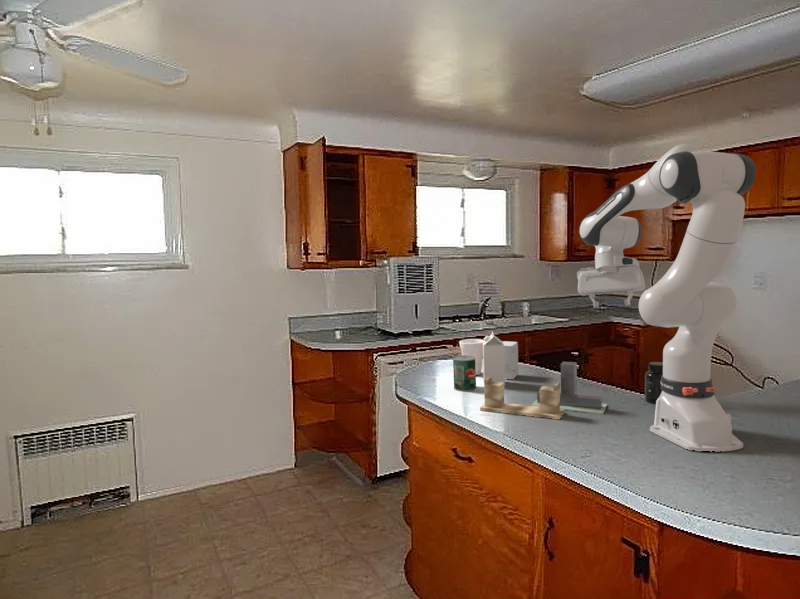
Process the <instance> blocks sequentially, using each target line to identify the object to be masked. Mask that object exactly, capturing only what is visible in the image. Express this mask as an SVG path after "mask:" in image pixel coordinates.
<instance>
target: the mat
mask: <svg viewBox="0 0 800 599" xmlns="http://www.w3.org/2000/svg"><path fill="white" fill-rule="evenodd" d="M530 406H538V407H540V403H537V399H536V400H534V401H533V403H532V404H530ZM607 407H608V404H607V403H602V408H601V409H592V408H583V407H573V406H563V405H560V409H565V411H566V410H568V411H567V412H575V411H577V413H584V412H585V414H595V415H603V414H604V413H605V411H606V408H607Z"/></svg>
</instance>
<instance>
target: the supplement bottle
mask: <svg viewBox="0 0 800 599" xmlns="http://www.w3.org/2000/svg"><path fill="white" fill-rule="evenodd" d="M662 375H663V361H662V362H661V361H652V362H649V363H648V371H646V372H645V374H644V399H645V402H646V403H649V404H652V405H656V401H657V399H658V398H659V397H660V395H661V393H662V390H661V383H660V381H661V376H662Z"/></svg>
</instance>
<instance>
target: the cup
mask: <svg viewBox="0 0 800 599" xmlns="http://www.w3.org/2000/svg"><path fill="white" fill-rule="evenodd" d="M483 341H484V339H481V338H466V339H461V340H459V341H458V344H459V347H460V350H461V356H463V355H467V356H474V357H475V367H476V376H479V375H481V374H482V368H483Z"/></svg>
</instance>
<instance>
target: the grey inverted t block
mask: <svg viewBox="0 0 800 599" xmlns="http://www.w3.org/2000/svg"><path fill="white" fill-rule="evenodd" d="M577 364H578V362H576V361H575V362H574V361H562V362H561V363H560V405H563V406H573V407H583V408H592V409H601V408H602V404H603V396H599V395H587V394H586V395H585V394H578V376H577V375H578V371H577V370H578V365H577ZM536 400H537V403H540V390H538V392H537V393H536Z"/></svg>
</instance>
